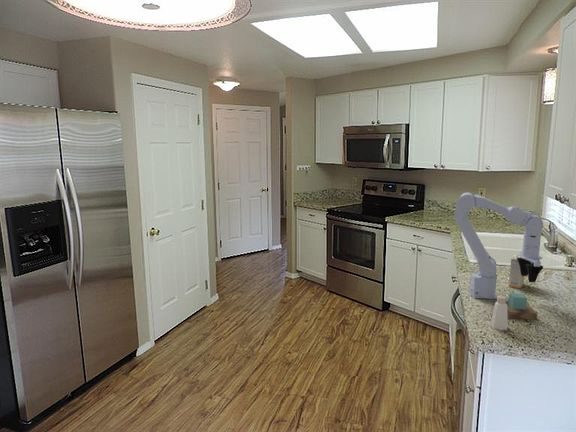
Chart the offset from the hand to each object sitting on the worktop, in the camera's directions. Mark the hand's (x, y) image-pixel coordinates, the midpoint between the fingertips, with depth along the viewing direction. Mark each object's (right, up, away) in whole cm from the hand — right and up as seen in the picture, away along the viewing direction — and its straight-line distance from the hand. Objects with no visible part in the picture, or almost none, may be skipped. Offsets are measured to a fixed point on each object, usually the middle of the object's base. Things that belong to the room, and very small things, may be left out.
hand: (527, 278), depth 159 cm
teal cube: (-10, -9, -10) cm, 17 cm away
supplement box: (+6, -6, +20) cm, 21 cm away
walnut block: (-10, -11, -9) cm, 18 cm away
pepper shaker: (-22, -14, -20) cm, 33 cm away
